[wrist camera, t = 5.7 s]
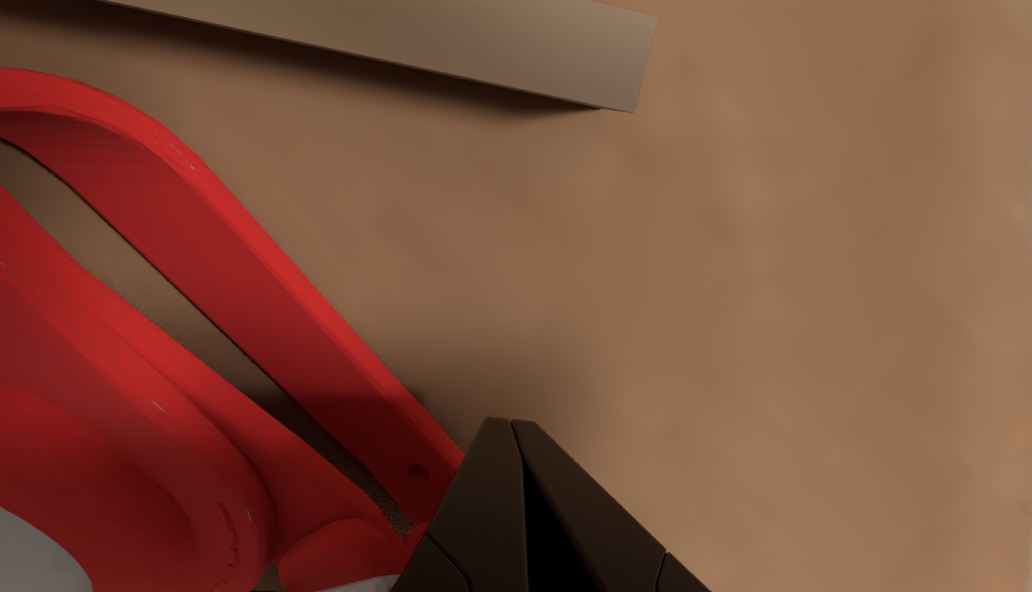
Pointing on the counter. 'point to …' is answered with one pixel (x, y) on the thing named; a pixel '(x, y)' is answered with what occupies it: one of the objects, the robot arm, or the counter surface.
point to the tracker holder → (182, 387)
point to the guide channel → (459, 38)
